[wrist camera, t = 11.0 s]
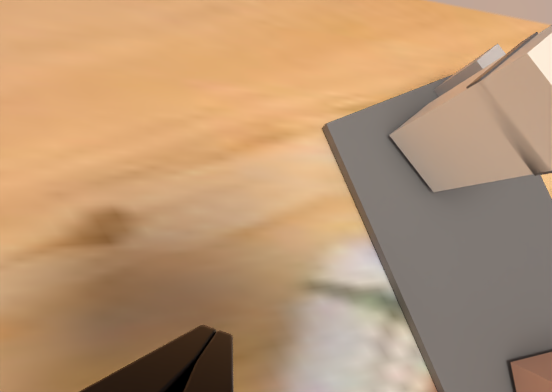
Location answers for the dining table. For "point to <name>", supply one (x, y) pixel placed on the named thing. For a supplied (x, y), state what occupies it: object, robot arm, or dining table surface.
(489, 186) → the grey base plate
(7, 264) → the dining table surface
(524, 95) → the white tall rectangular block
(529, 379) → the salmon pink block
